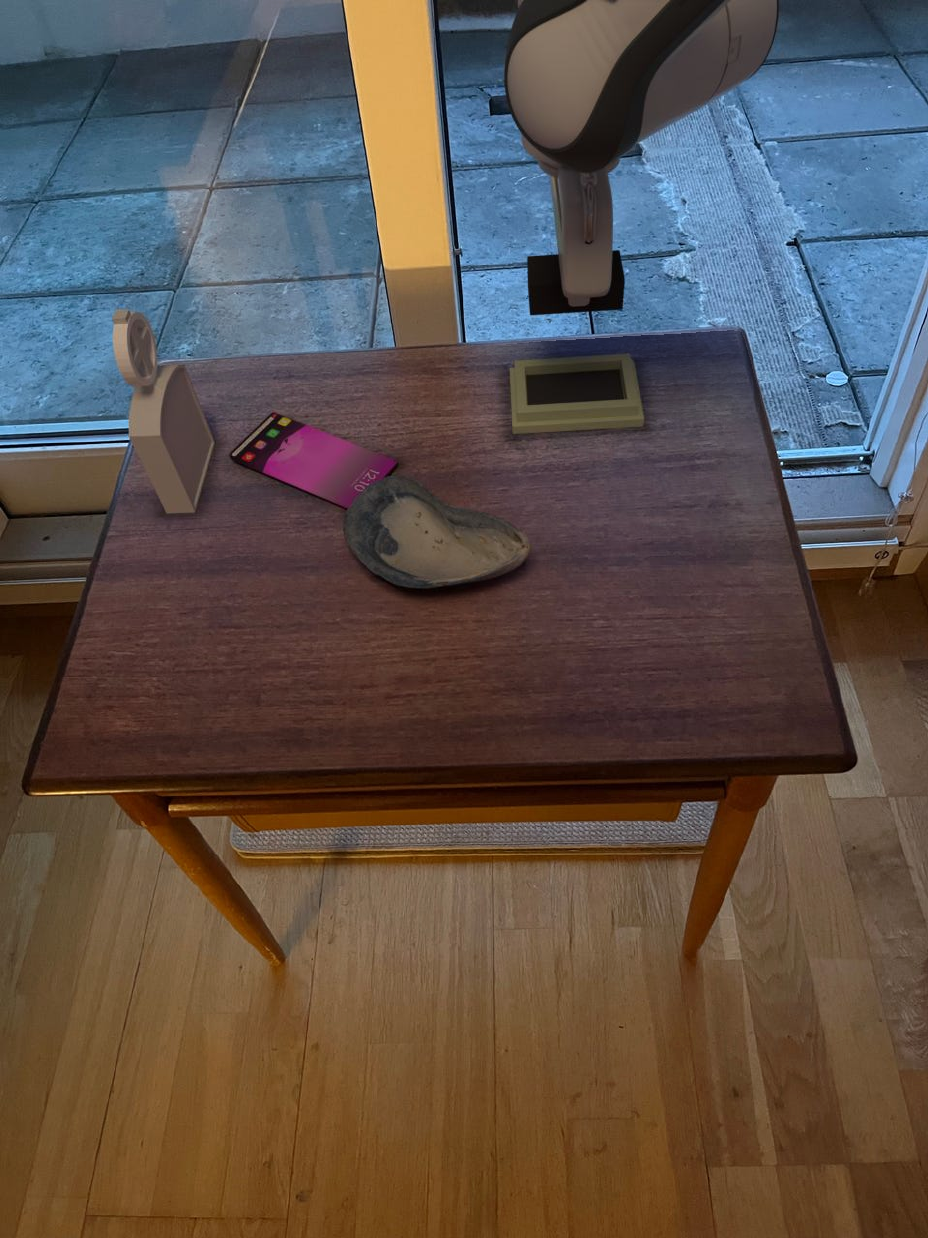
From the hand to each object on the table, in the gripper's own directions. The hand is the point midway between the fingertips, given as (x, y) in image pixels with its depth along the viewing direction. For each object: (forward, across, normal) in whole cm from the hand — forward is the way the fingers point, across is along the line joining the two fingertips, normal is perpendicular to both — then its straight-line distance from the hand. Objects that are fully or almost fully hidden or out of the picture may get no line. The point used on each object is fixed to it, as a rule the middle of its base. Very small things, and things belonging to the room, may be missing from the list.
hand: (575, 281), depth 79 cm
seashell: (+13, -19, +13) cm, 27 cm away
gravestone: (+13, -8, +37) cm, 40 cm away
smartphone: (+13, -7, +25) cm, 29 cm away
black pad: (+2, 0, 0) cm, 2 cm away
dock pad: (+13, 0, 0) cm, 13 cm away
